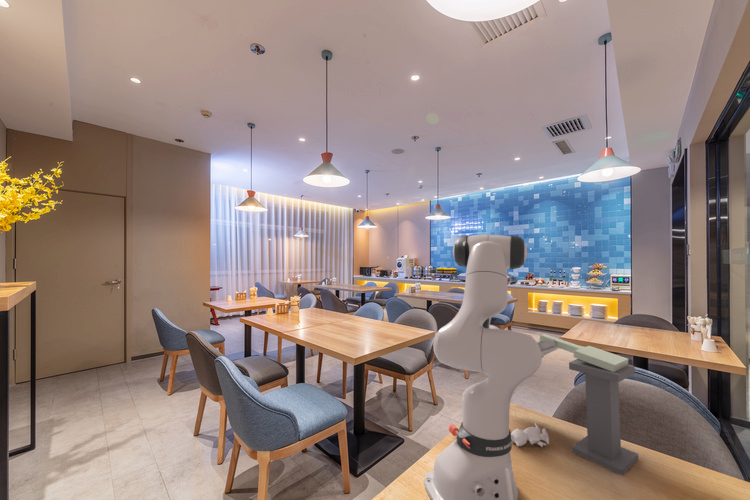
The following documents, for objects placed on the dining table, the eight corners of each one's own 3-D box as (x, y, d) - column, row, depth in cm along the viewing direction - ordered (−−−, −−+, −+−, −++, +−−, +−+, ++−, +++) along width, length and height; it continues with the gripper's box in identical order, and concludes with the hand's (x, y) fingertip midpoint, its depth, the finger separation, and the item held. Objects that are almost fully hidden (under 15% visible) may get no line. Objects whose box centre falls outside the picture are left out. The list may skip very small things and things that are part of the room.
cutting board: (613, 372, 81) (614, 365, 81) (533, 342, 100) (534, 336, 99) (627, 365, 87) (628, 358, 87) (549, 338, 105) (550, 332, 105)
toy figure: (530, 430, 101) (500, 436, 97) (530, 416, 101) (500, 421, 97) (558, 449, 91) (526, 456, 87) (558, 433, 91) (525, 440, 87)
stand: (622, 475, 79) (618, 374, 80) (571, 452, 89) (569, 362, 90) (638, 459, 85) (634, 365, 86) (589, 438, 95) (586, 355, 96)
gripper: (501, 349, 103) (536, 335, 94) (534, 340, 115) (567, 328, 105) (510, 367, 100) (546, 355, 91) (542, 357, 112) (578, 345, 102)
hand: (558, 340), depth 98 cm, fingers closed on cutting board, 3 cm apart
